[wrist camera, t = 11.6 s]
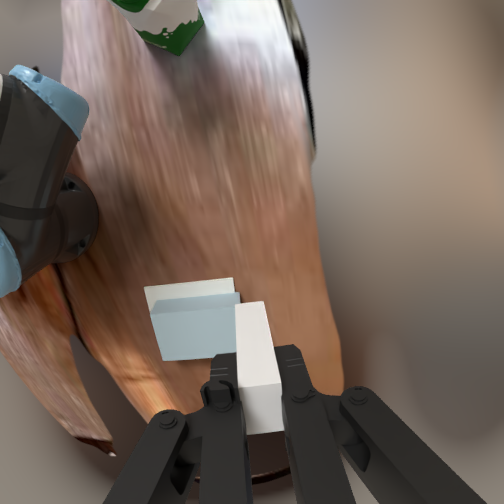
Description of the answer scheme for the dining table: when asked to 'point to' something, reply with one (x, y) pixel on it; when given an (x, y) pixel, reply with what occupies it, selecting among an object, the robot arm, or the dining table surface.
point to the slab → (195, 326)
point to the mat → (188, 290)
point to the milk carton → (163, 21)
